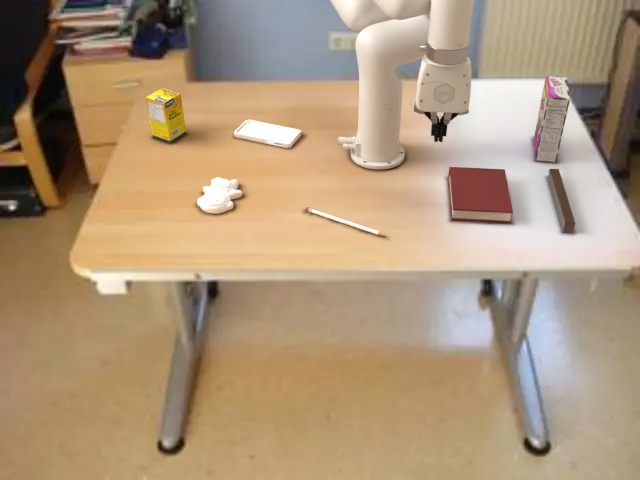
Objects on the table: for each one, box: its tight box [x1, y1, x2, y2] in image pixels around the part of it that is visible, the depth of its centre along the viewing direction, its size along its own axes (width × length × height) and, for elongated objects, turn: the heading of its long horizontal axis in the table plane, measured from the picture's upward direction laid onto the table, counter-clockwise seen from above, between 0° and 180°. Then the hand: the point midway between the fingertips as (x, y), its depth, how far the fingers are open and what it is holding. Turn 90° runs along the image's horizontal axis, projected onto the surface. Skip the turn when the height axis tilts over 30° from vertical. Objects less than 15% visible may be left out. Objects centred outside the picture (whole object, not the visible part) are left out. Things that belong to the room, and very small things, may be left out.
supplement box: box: [145, 87, 187, 144], centre depth 170 cm, size 6×6×11 cm
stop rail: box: [547, 168, 576, 234], centre depth 149 cm, size 2×20×2 cm, turn 174°
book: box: [447, 166, 514, 225], centre depth 150 cm, size 12×16×3 cm
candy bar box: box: [533, 75, 571, 164], centre depth 162 cm, size 11×5×16 cm, turn 168°
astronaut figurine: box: [196, 176, 243, 215], centre depth 151 cm, size 9×12×3 cm
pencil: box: [305, 206, 387, 237], centre depth 144 cm, size 1×19×1 cm, turn 60°
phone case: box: [233, 119, 302, 149], centre depth 173 cm, size 7×1×15 cm
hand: (438, 138), depth 143 cm, fingers closed
